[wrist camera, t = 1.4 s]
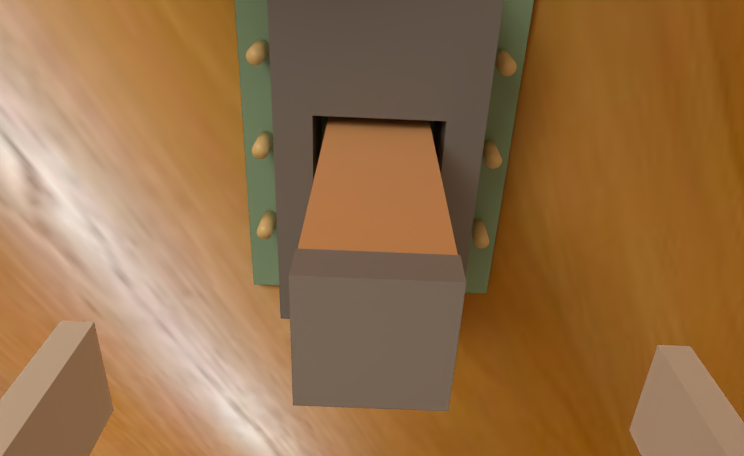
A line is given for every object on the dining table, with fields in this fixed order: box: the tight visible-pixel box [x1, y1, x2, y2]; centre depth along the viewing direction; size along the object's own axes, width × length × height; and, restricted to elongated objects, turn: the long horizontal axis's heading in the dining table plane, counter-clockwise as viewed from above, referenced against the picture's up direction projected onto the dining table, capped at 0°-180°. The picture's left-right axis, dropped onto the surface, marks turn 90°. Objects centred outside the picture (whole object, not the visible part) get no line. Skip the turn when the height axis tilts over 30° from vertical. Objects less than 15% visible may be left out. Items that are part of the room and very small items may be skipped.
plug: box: [289, 116, 466, 411], centre depth 21 cm, size 4×4×14 cm
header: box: [235, 0, 534, 319], centre depth 26 cm, size 16×12×4 cm
